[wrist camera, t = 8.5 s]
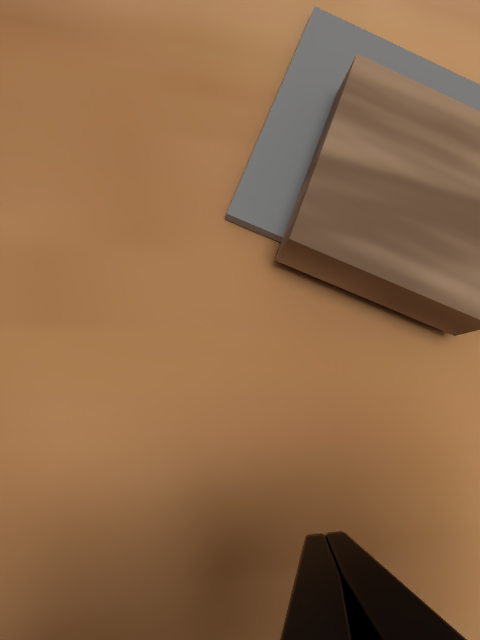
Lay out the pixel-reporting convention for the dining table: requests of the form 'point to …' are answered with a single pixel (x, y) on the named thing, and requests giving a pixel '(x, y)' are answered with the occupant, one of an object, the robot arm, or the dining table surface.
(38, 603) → the dining table surface
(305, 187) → the walnut tile
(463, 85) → the slate board
